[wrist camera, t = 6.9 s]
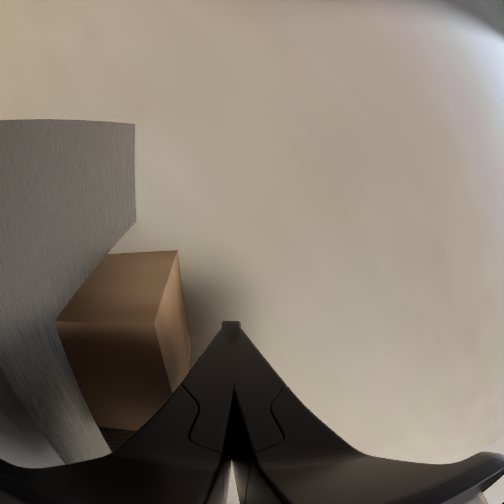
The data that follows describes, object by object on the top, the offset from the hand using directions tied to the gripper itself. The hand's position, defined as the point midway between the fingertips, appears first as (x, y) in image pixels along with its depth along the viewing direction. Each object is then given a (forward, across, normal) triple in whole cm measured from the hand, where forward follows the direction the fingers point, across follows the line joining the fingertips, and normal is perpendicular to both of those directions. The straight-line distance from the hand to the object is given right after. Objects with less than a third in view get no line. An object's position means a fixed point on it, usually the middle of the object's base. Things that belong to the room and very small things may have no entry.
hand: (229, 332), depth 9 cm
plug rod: (+1, +10, +1) cm, 10 cm away
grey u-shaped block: (+1, +6, 0) cm, 6 cm away
